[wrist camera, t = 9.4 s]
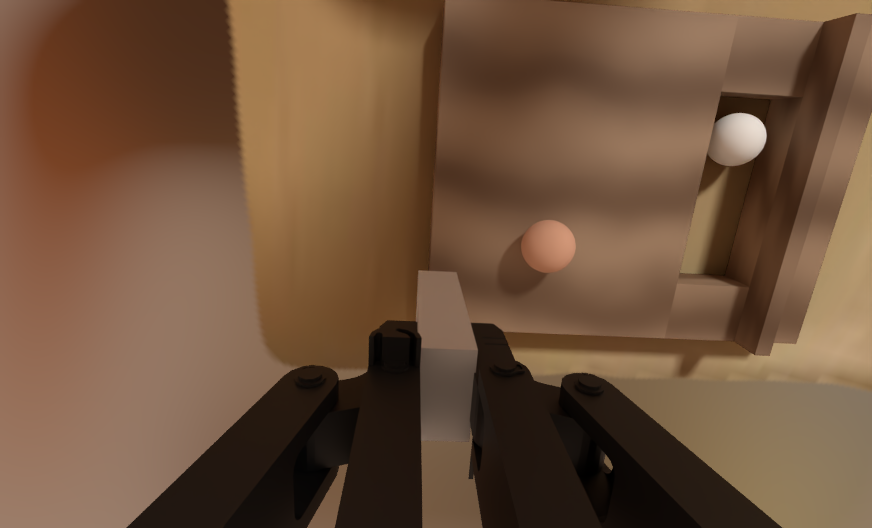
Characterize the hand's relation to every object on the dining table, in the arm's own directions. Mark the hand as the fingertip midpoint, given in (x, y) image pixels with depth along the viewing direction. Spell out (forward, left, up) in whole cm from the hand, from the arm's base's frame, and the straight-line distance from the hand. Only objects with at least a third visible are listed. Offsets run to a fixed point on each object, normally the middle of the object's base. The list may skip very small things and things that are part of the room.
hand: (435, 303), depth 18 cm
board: (-4, +13, -14) cm, 19 cm away
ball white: (-7, +19, -12) cm, 23 cm away
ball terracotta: (0, +7, -9) cm, 12 cm away
